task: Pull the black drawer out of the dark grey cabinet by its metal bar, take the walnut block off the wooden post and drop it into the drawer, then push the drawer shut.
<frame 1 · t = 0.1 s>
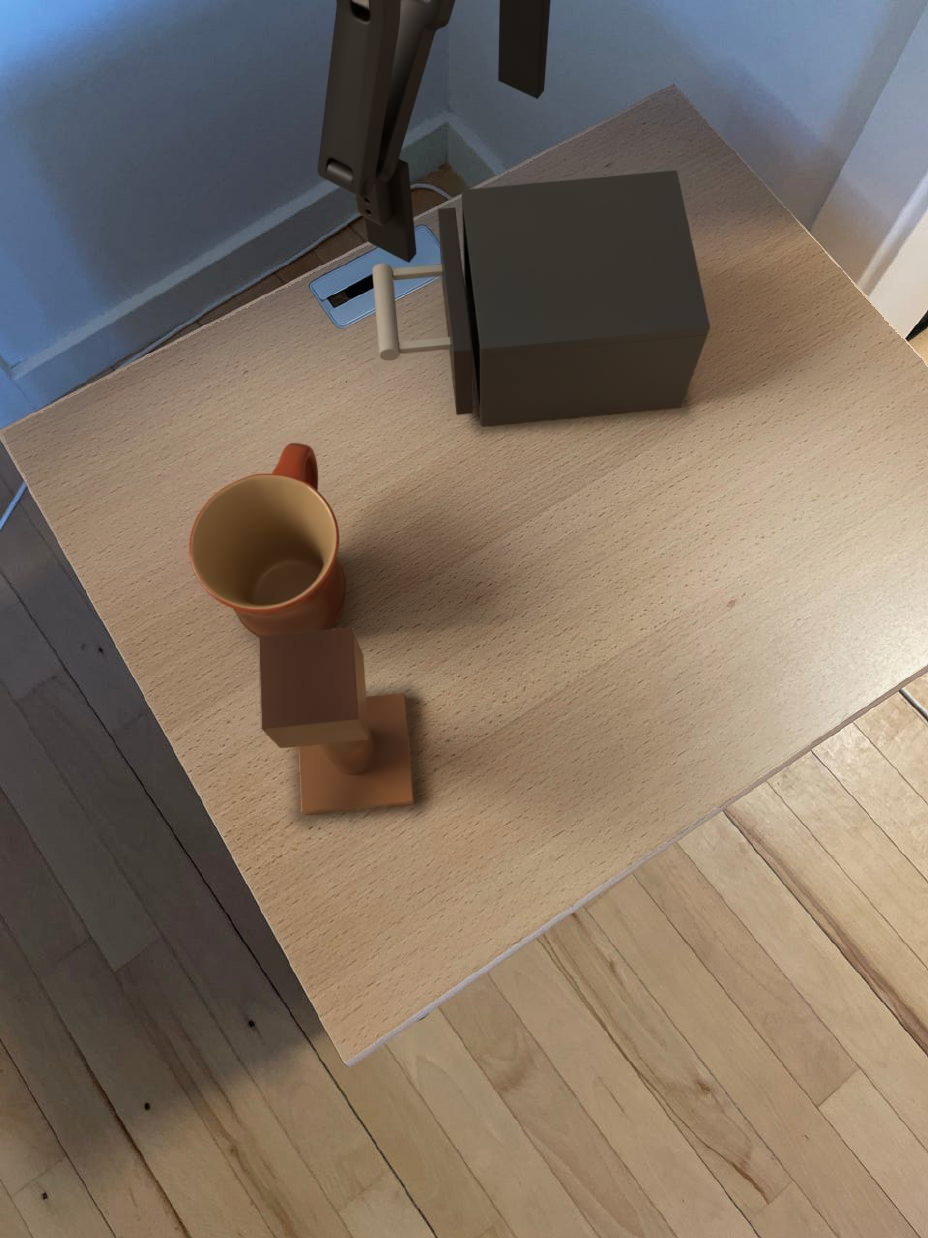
hand: (458, 164, 56), 18 cm above the table, tool pointing down, fingers open, 13 cm apart
drawer: (508, 308, 69), point 5 cm above the table, slide at 0.5 cm
cabinet: (569, 343, 73), on the table
mug: (302, 580, 68), on the table
block: (322, 700, 50), point 14 cm above the table, touching post
post: (355, 754, 63), on the table
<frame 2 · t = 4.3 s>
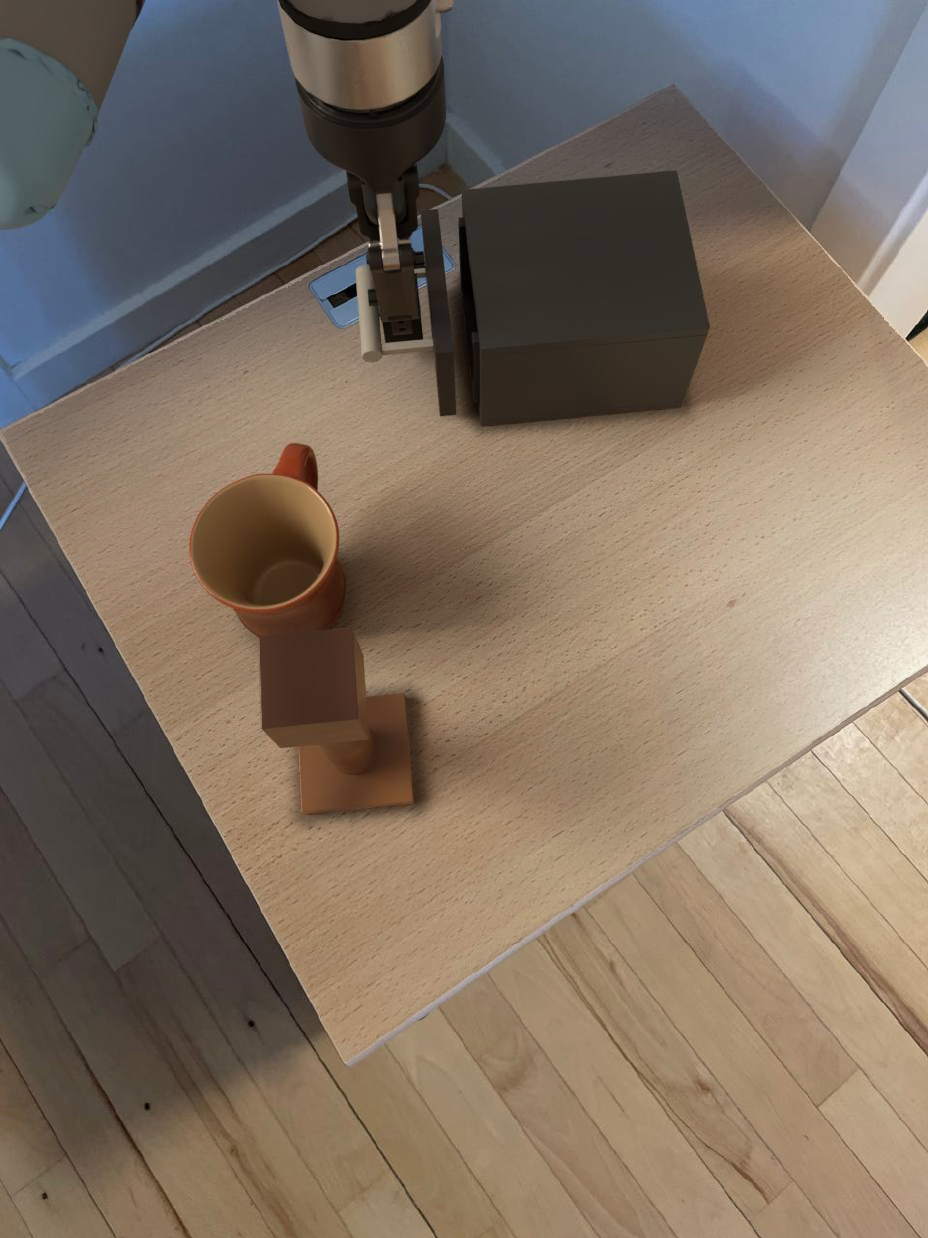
hand: (404, 342, 71), 2 cm above the table, tool pointing down, fingers closed
drawer: (491, 310, 69), point 5 cm above the table, slide at 1.7 cm
everything else where it was.
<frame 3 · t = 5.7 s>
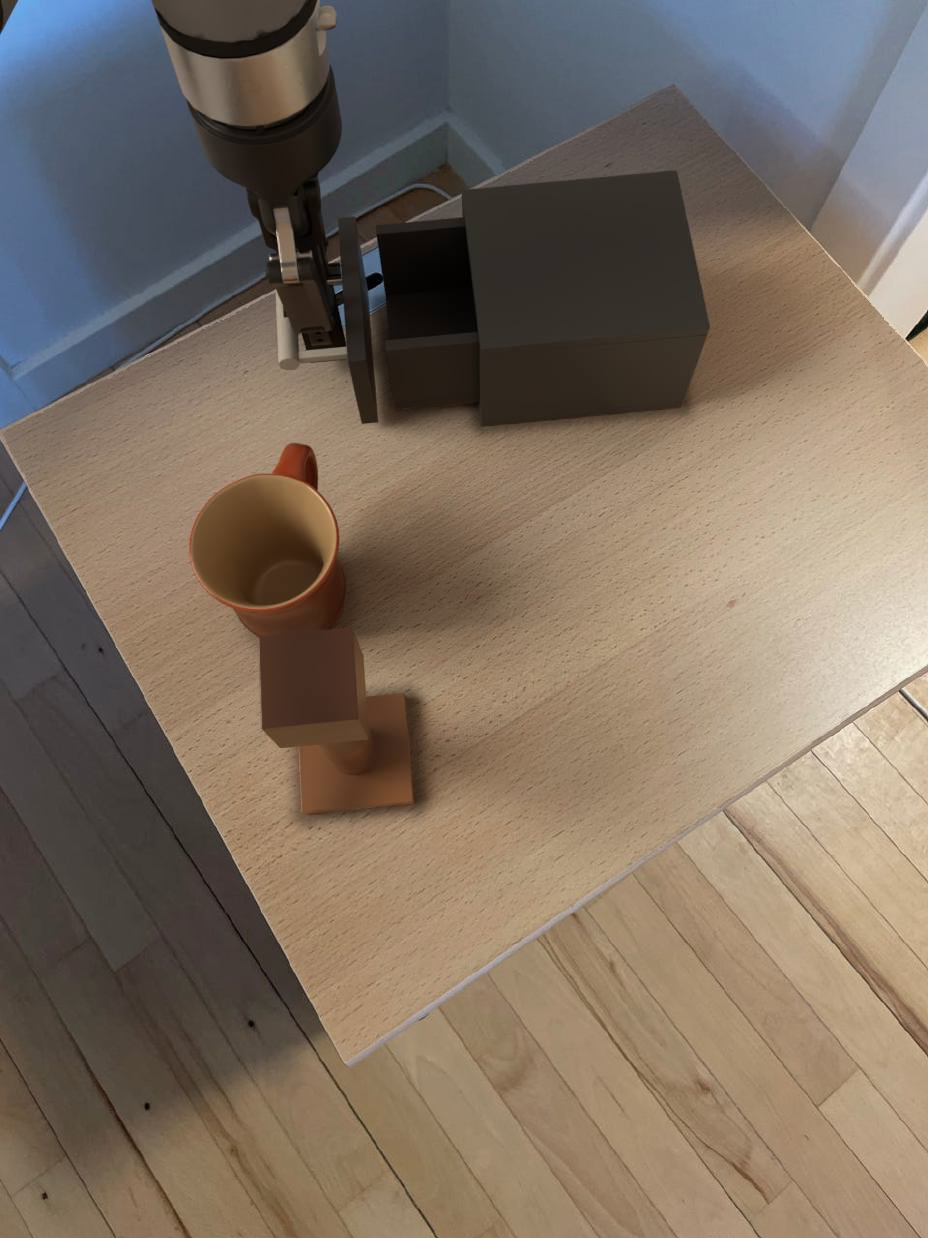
hand: (327, 352, 71), 2 cm above the table, tool pointing down, fingers closed
drawer: (411, 317, 68), point 5 cm above the table, slide at 7.3 cm
everything else where it was.
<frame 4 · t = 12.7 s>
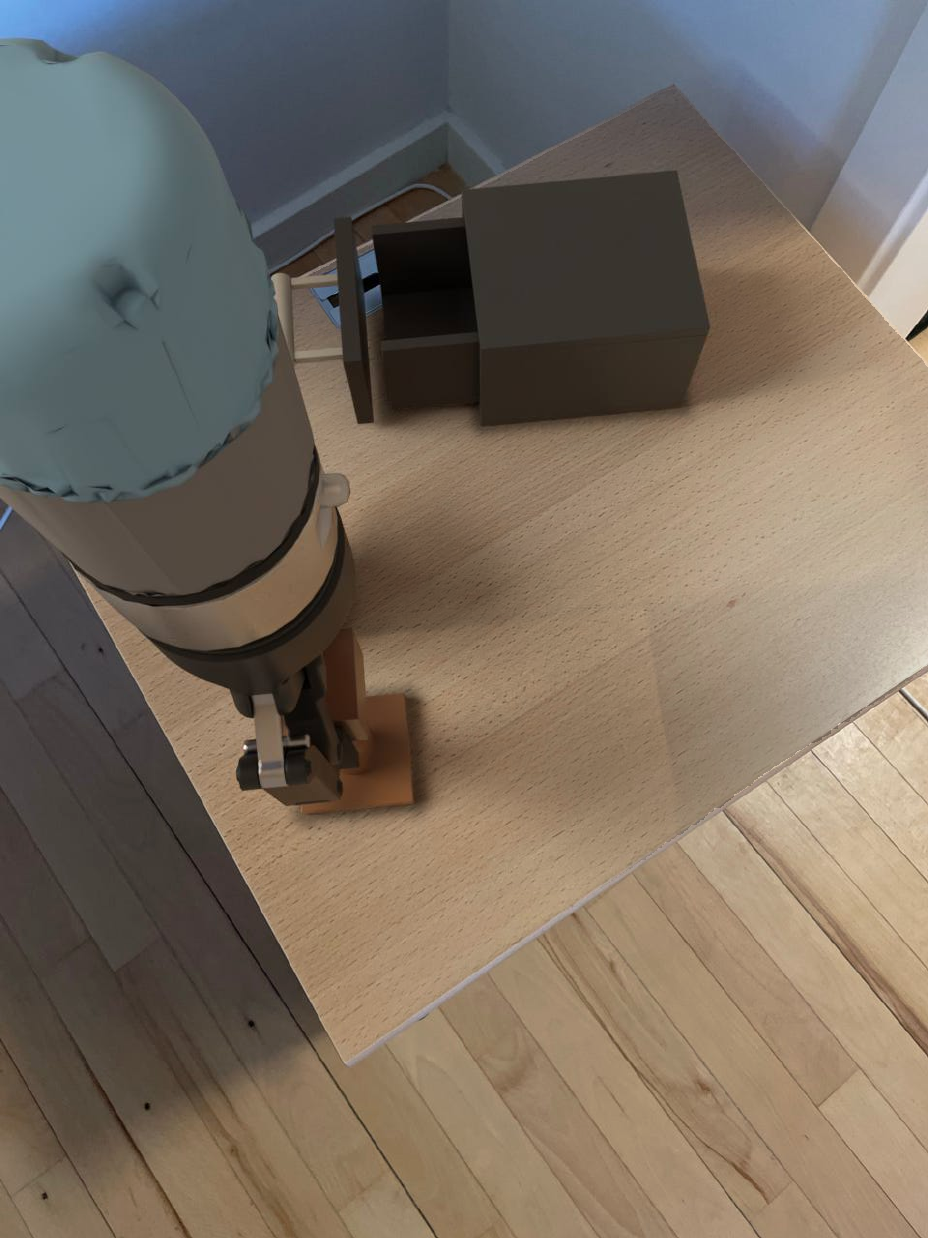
hand: (331, 715, 53), 11 cm above the table, tool pointing down, fingers closed on block, 4 cm apart
block: (322, 700, 50), point 14 cm above the table, touching gripper, post
everything else where it was.
when the fingers open (9 cm above the table, at t = 20.3 s): block drops 10 cm, resting on drawer.
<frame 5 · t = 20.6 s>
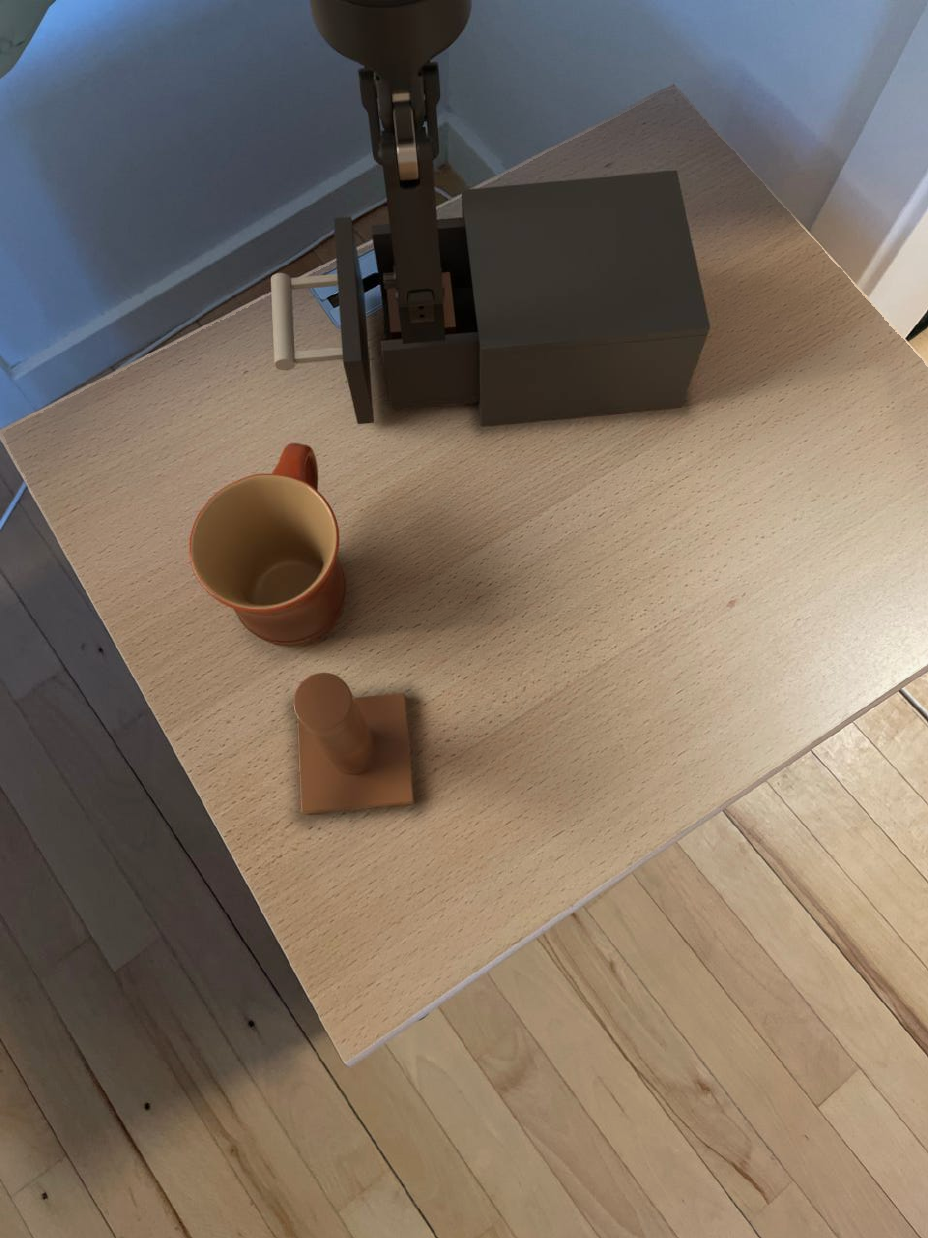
hand: (417, 272, 64), 10 cm above the table, tool pointing down, fingers open, 9 cm apart
drawer: (407, 318, 68), point 5 cm above the table, slide at 7.6 cm, touching block
block: (424, 340, 71), point 2 cm above the table, touching drawer
everything else where it was.
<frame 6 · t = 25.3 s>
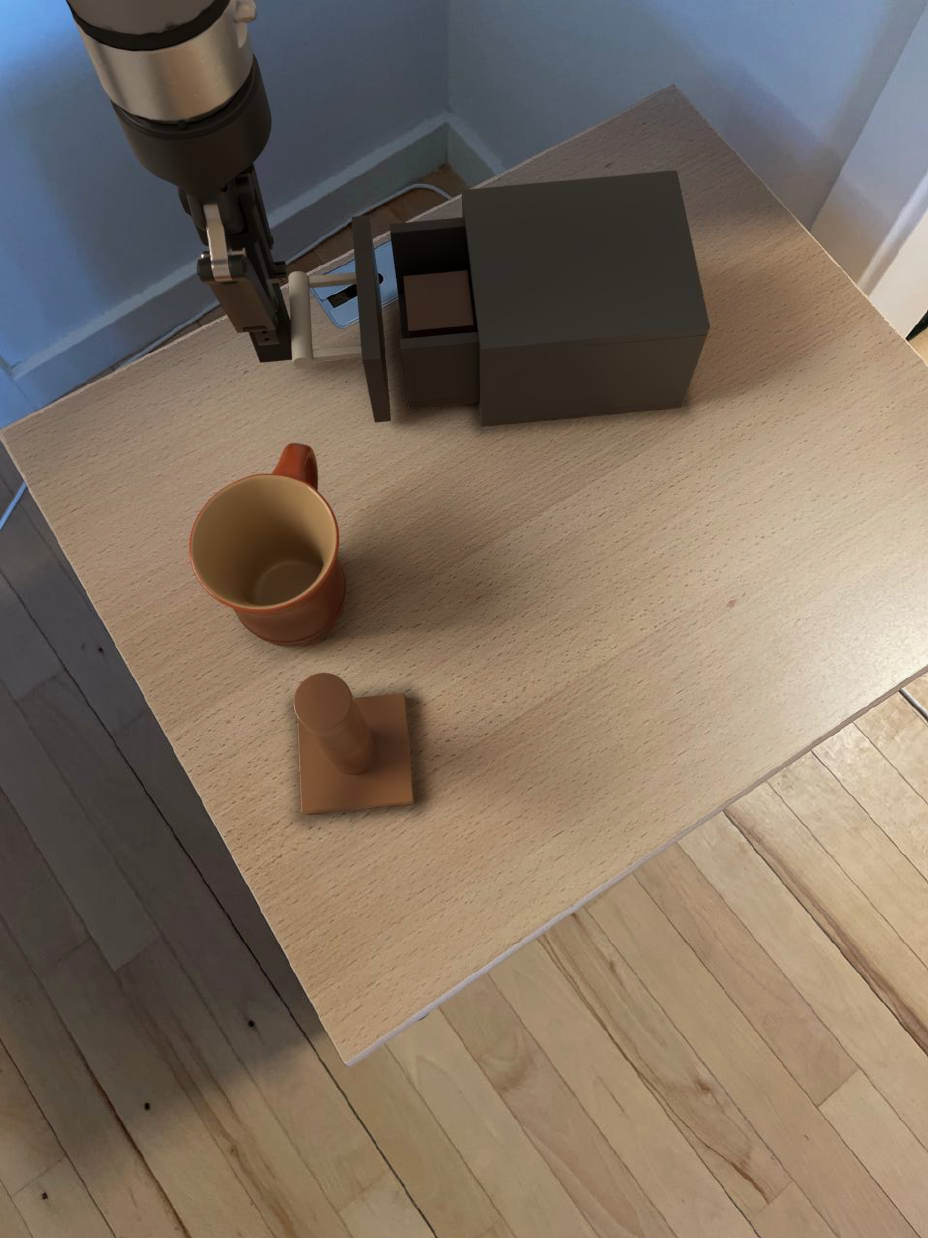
hand: (278, 351, 70), 2 cm above the table, tool pointing down, fingers closed
drawer: (424, 316, 68), point 5 cm above the table, slide at 6.4 cm, touching block, gripper
block: (440, 339, 71), point 2 cm above the table, touching drawer
everything else where it was.
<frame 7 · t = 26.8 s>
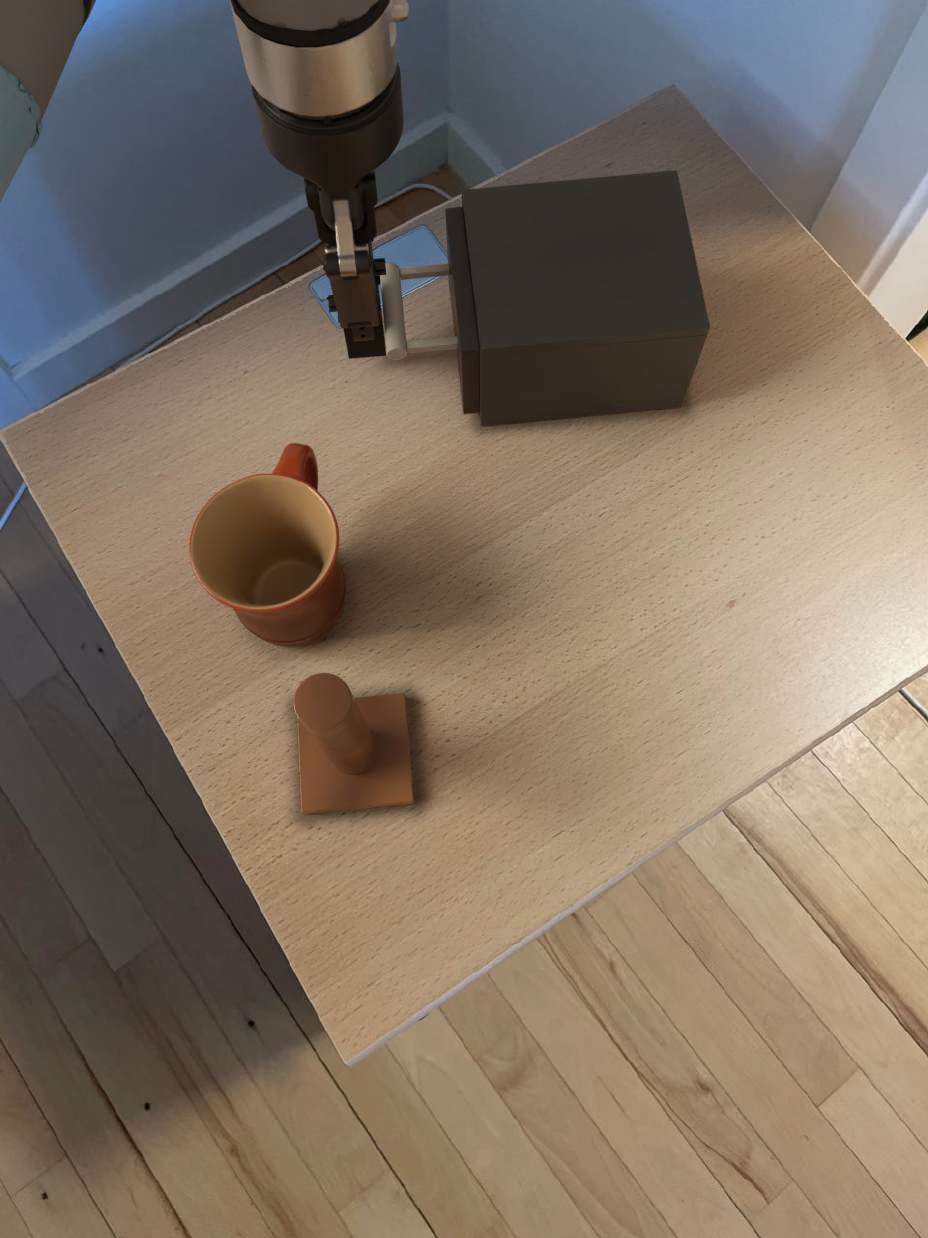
hand: (366, 348, 71), 2 cm above the table, tool pointing down, fingers closed
drawer: (515, 308, 69), point 5 cm above the table, slide at 0.0 cm, touching block, cabinet, gripper
block: (528, 330, 71), point 2 cm above the table, touching drawer
everything else where it was.
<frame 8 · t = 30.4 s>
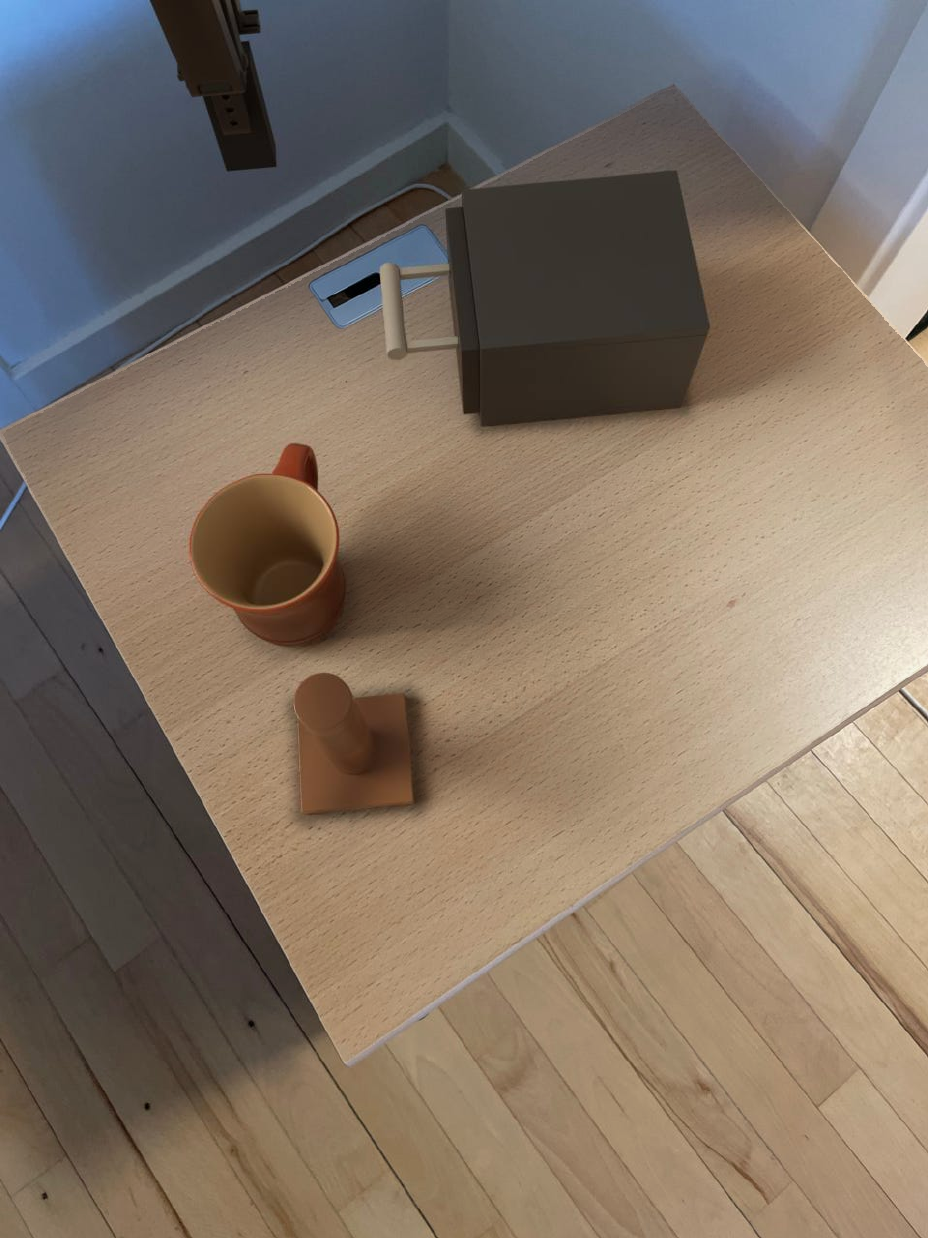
hand: (251, 157, 54), 20 cm above the table, tool pointing down, fingers closed
drawer: (515, 308, 69), point 5 cm above the table, slide at 0.0 cm, touching block, cabinet
everything else where it was.
at the end: drawer pulled out 7.6 cm at the most during the clip, back to where it started at the end; block inside the target area in the cabinet (3.2 cm from its centre), point 2.0 cm above the cabinet's base; drawer slide at 0.0 cm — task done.
